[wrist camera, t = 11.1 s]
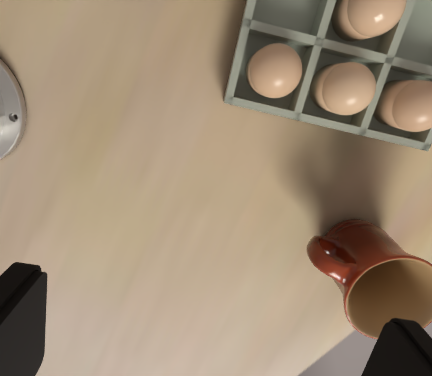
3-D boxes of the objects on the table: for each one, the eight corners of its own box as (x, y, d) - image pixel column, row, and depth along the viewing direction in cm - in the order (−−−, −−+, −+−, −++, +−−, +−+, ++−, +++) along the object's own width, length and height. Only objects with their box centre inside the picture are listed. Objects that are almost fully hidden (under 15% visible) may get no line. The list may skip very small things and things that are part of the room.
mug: (402, 228, 38) (467, 280, 28) (359, 286, 40) (405, 353, 31) (313, 184, 36) (349, 225, 26) (274, 248, 39) (294, 306, 29)
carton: (223, 100, 33) (225, 106, 27) (259, -57, 29) (272, -95, 22) (409, 144, 35) (454, 160, 28) (470, 1, 30) (539, -19, 24)
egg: (340, -17, 29) (370, -41, 23) (387, -6, 29) (428, -27, 24) (325, 36, 31) (349, 26, 25) (370, 46, 31) (405, 38, 25)
